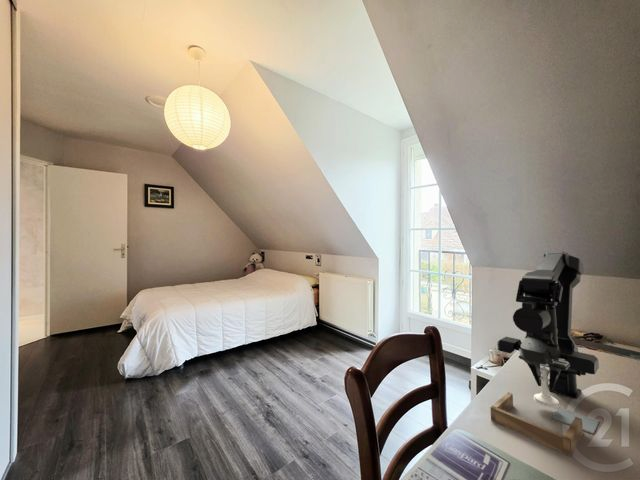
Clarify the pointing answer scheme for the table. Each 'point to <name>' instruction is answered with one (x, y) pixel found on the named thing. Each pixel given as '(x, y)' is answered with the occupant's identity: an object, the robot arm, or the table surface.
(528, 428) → the wooden frame
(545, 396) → the chess piece
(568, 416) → the pad
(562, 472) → the table surface
